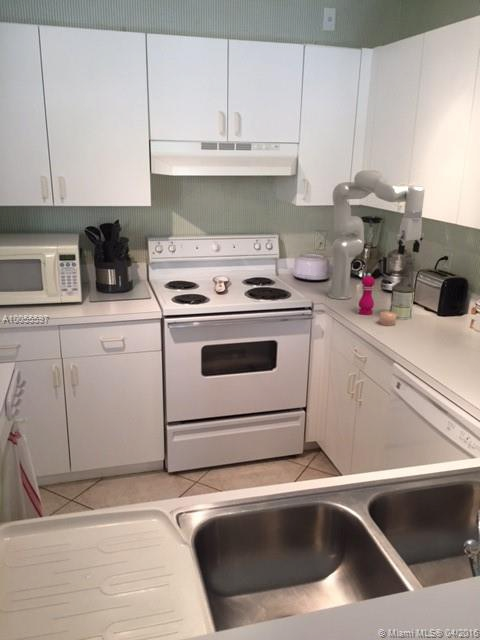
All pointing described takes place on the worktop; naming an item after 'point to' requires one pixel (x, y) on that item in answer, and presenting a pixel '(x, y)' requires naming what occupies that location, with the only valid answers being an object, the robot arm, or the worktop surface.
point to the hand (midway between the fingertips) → (408, 253)
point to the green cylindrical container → (402, 301)
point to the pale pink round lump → (387, 318)
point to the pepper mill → (367, 295)
